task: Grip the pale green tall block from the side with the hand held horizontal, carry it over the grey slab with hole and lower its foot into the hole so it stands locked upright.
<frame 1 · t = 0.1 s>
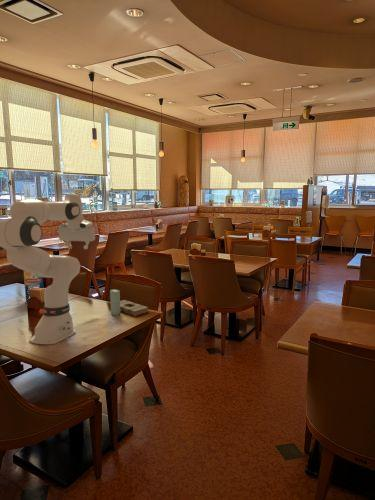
hand: (78, 248, 197), 39 cm above the table, tool pointing down, fingers open, 8 cm apart
baseboard: (50, 295, 251), on the table
pale green tall block: (115, 314, 208), on the table
beverage box: (35, 301, 234), on the table
grey slab with hole: (129, 310, 215), on the table
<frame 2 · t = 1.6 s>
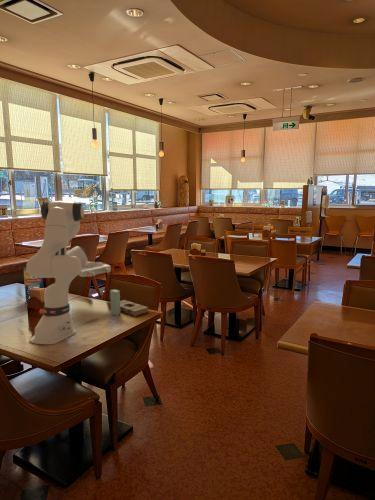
hand: (102, 272, 212), 23 cm above the table, tool horizontal, fingers open, 8 cm apart
nothing on the table moved.
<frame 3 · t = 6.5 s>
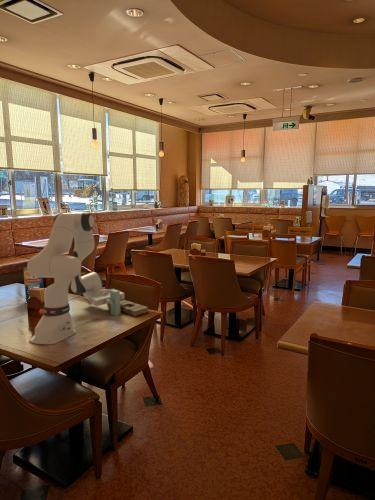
hand: (116, 301, 206), 8 cm above the table, tool horizontal, fingers closed on pale green tall block, 3 cm apart
pale green tall block: (115, 314, 208), on the table, touching gripper
everything else where it was.
when the fingers open (9 cm above the table, at t = 11.7 s): pale green tall block stays where it is, resting in grey slab with hole.
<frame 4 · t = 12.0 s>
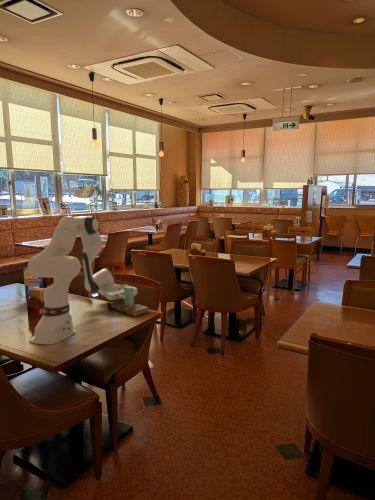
hand: (130, 295, 213), 9 cm above the table, tool horizontal, fingers open, 6 cm apart
pale green tall block: (129, 310, 215), resting in grey slab with hole
everything else where it was.
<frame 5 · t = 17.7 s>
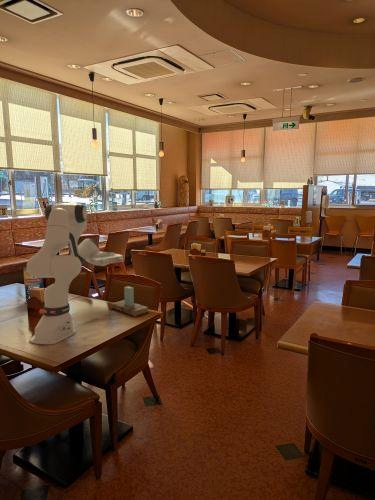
hand: (115, 261, 219), 28 cm above the table, tool horizontal, fingers open, 8 cm apart
at the end: pale green tall block 0.1 cm off-centre on the grey slab with hole, point 0.0 cm above the grey slab with hole's base; pale green tall block tilted 0°; the gripper is holding nothing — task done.
